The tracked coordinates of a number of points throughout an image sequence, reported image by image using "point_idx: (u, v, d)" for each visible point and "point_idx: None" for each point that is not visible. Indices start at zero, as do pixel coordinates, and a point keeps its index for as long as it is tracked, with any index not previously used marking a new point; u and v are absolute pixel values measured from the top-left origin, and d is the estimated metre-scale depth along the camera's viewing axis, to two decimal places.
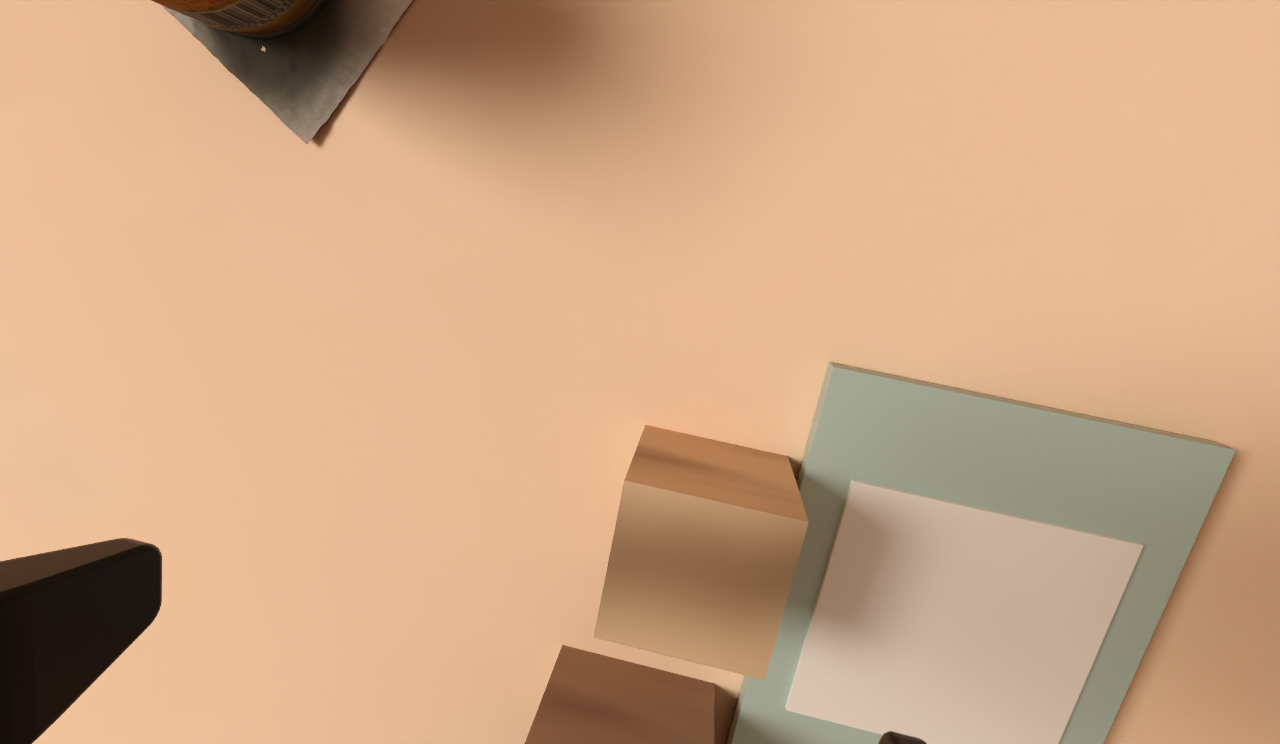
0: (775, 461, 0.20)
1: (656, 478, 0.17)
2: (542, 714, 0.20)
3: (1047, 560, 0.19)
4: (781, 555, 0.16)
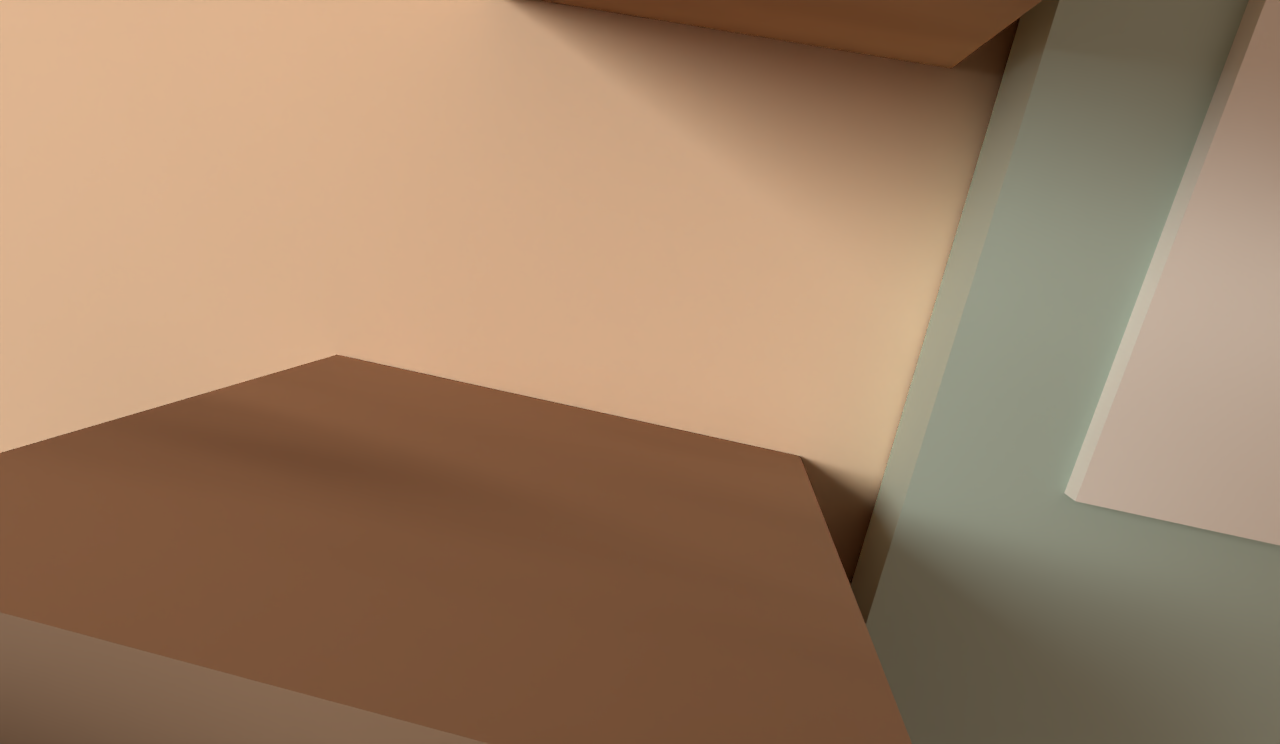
0: None
1: None
2: (59, 449, 0.04)
3: None
4: None
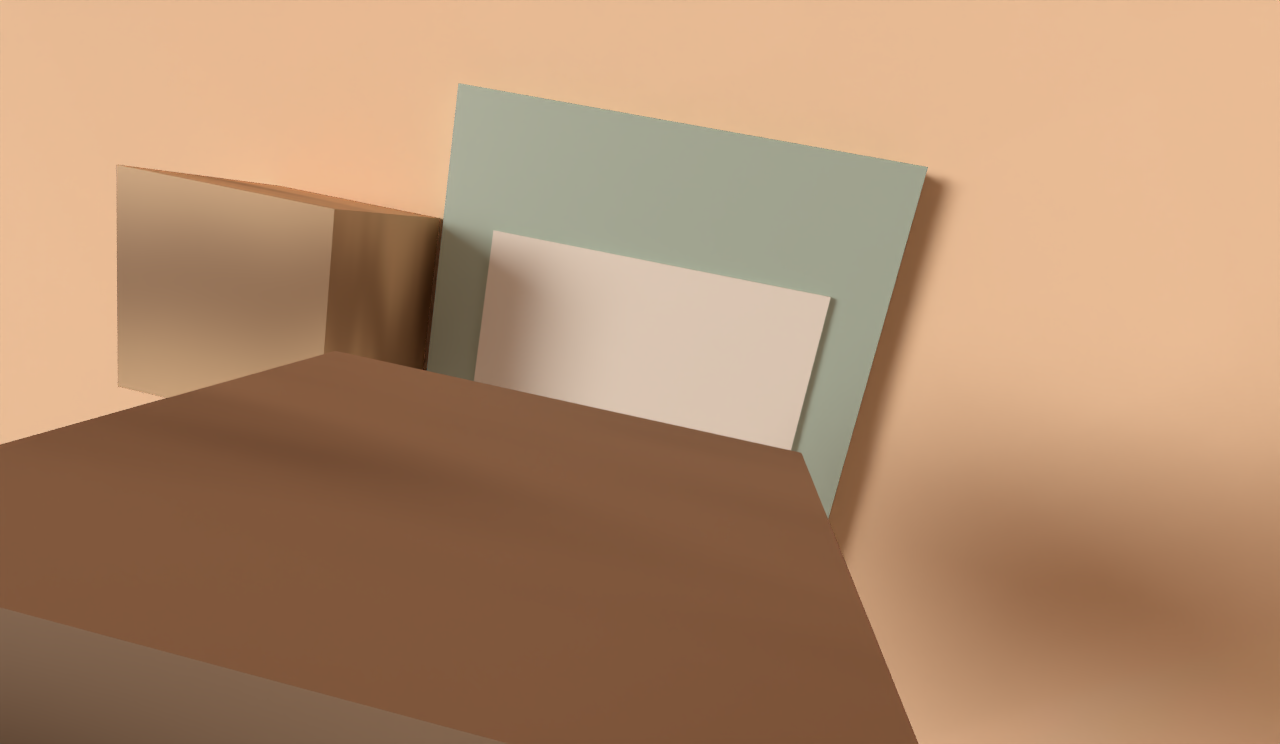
0: (409, 213, 0.17)
1: (176, 174, 0.14)
2: (54, 443, 0.04)
3: (723, 322, 0.16)
4: (310, 258, 0.13)
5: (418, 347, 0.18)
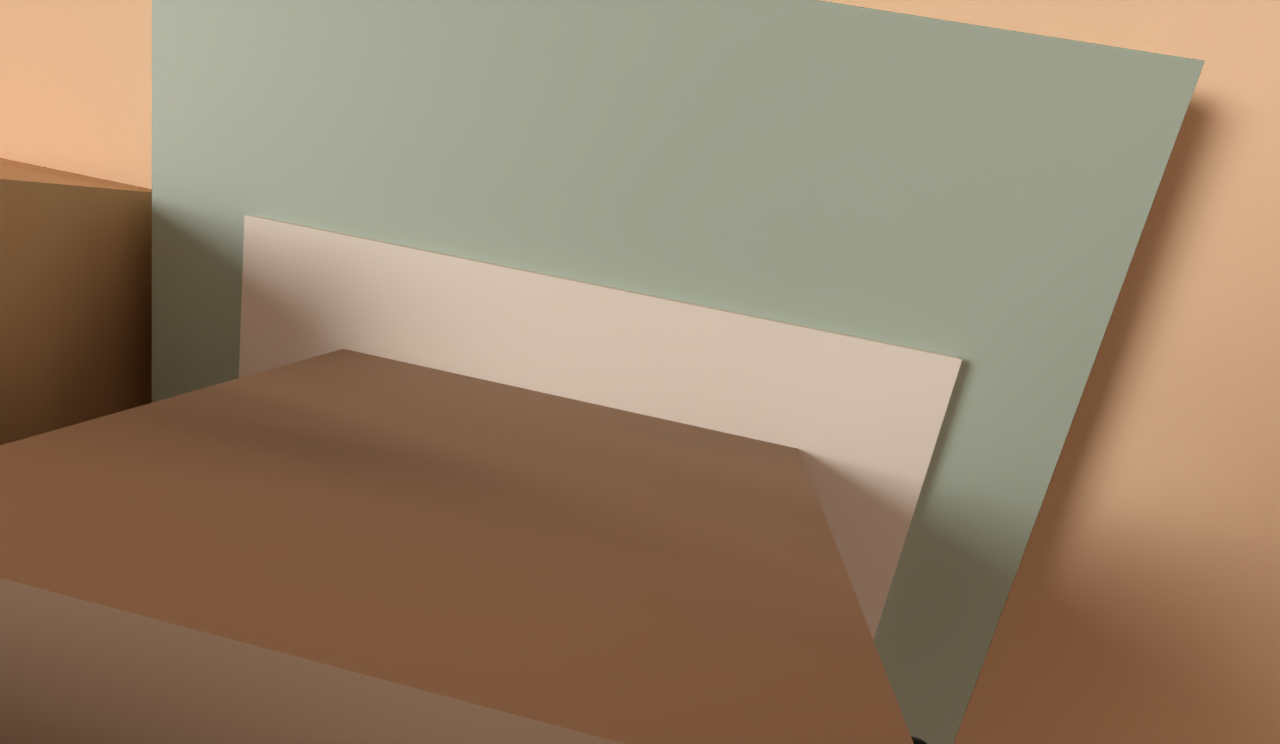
0: (87, 182, 0.08)
1: None
2: (79, 436, 0.04)
3: (726, 409, 0.07)
4: None
5: None
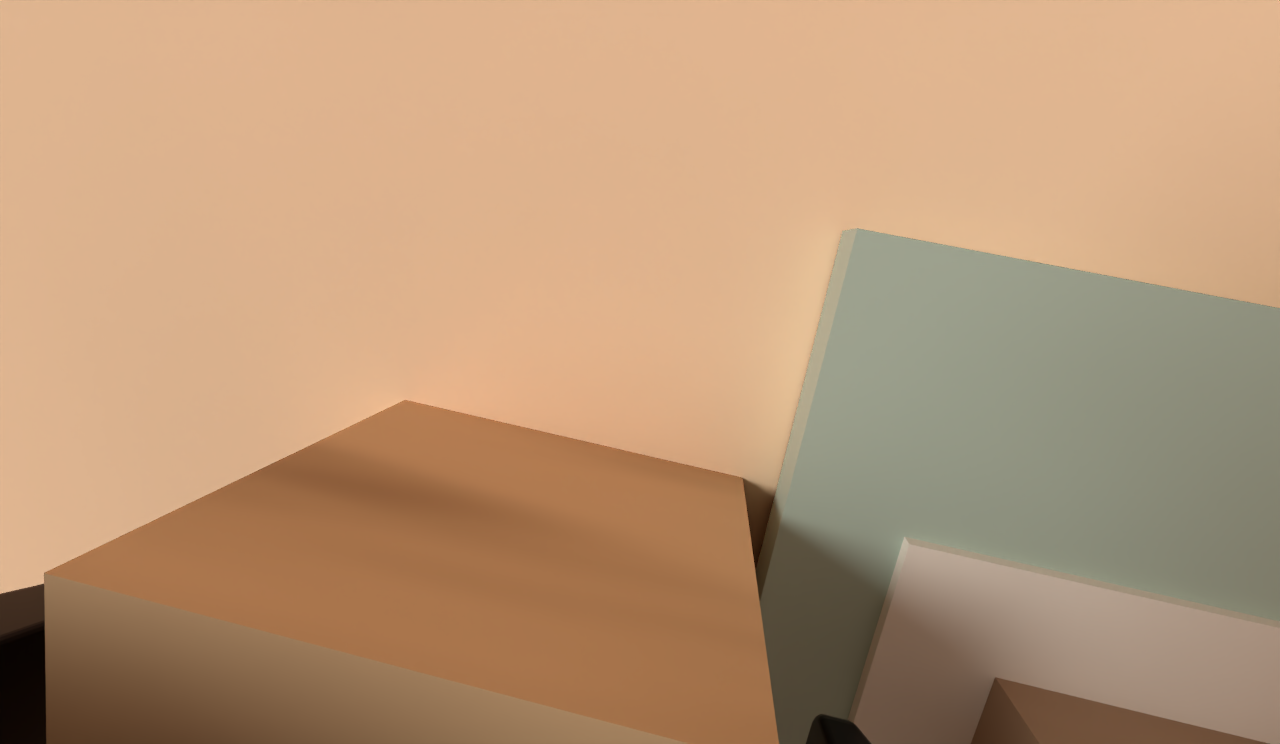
0: (706, 491, 0.08)
1: (228, 555, 0.05)
2: None
3: None
4: None
5: None
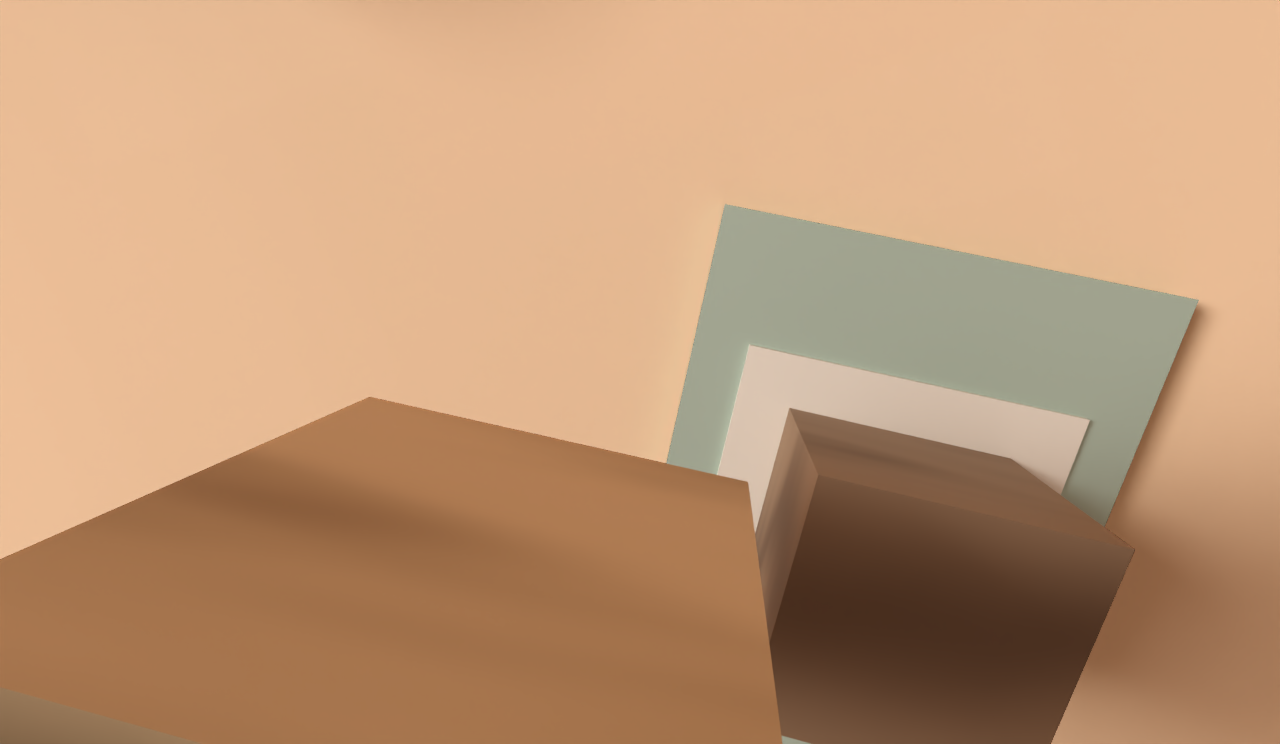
0: (706, 502, 0.07)
1: (91, 605, 0.04)
2: (817, 452, 0.13)
3: (977, 440, 0.16)
4: None
5: None
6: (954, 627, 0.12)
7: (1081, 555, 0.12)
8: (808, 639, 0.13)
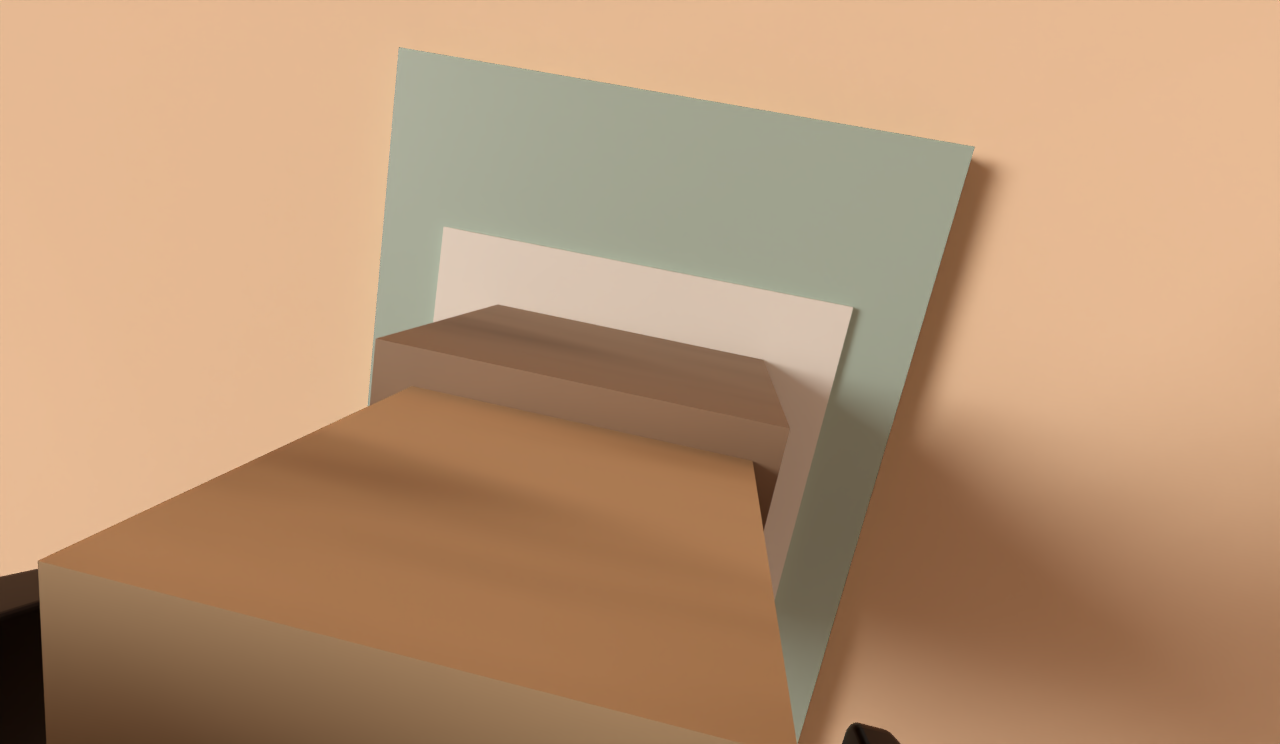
0: (716, 476, 0.08)
1: (228, 544, 0.05)
2: (434, 328, 0.10)
3: (722, 338, 0.13)
4: None
5: None
6: None
7: (722, 439, 0.08)
8: None
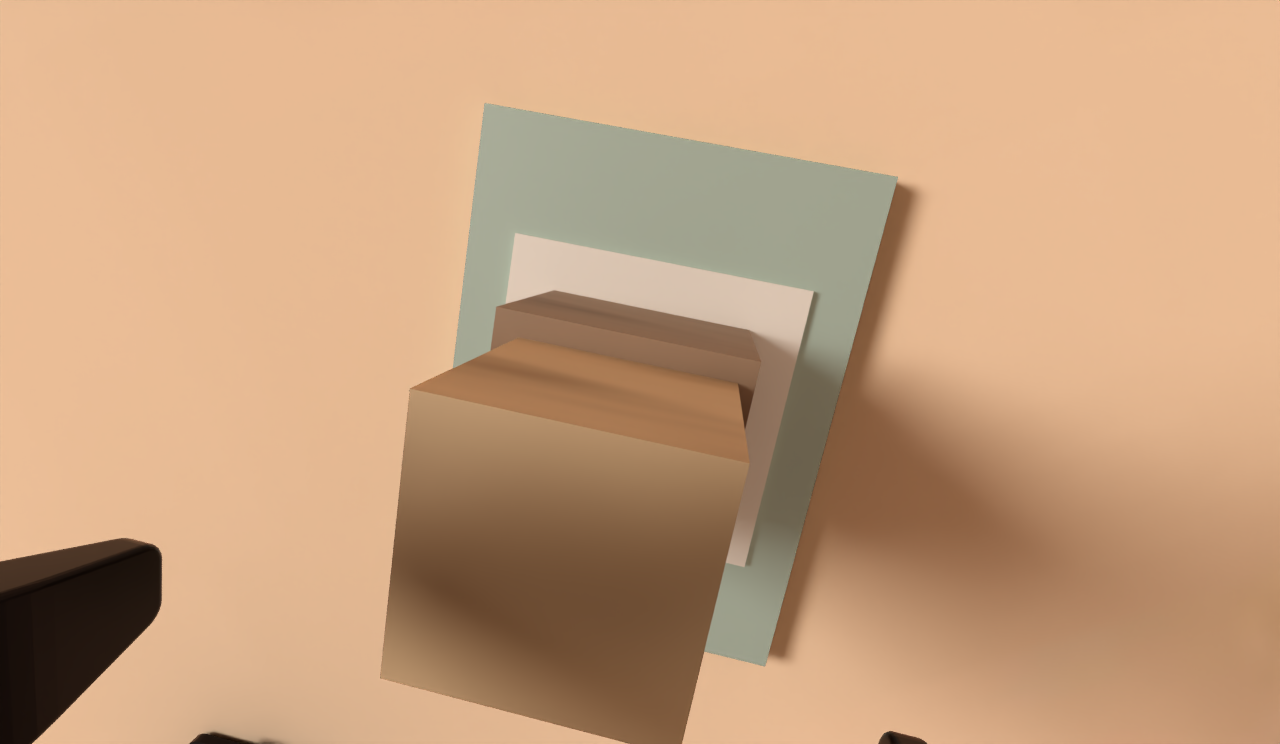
0: (714, 387, 0.12)
1: (480, 390, 0.09)
2: (524, 302, 0.15)
3: (719, 314, 0.18)
4: (700, 528, 0.09)
5: None
6: None
7: (718, 369, 0.13)
8: None
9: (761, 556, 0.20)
